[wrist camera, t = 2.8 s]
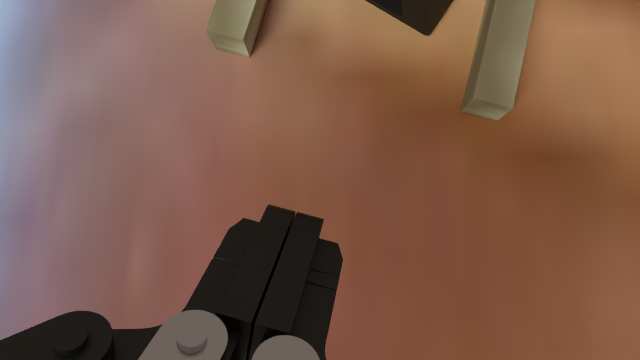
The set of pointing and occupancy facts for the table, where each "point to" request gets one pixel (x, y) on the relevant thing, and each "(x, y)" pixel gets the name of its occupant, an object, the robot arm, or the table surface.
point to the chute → (487, 66)
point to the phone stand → (415, 12)
